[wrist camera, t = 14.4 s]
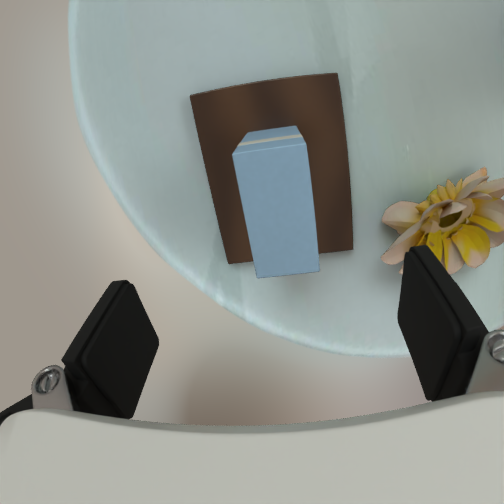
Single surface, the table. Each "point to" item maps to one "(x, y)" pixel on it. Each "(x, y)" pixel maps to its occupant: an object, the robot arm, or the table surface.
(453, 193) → the decorative flower
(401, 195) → the table surface
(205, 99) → the brown wooden board
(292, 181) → the box
